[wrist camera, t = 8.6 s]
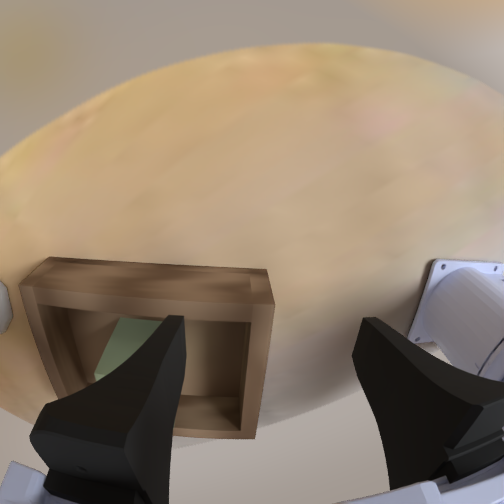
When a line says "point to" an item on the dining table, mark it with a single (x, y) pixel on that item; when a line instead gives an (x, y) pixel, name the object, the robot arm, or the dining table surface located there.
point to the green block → (124, 343)
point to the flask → (4, 309)
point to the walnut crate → (157, 309)
